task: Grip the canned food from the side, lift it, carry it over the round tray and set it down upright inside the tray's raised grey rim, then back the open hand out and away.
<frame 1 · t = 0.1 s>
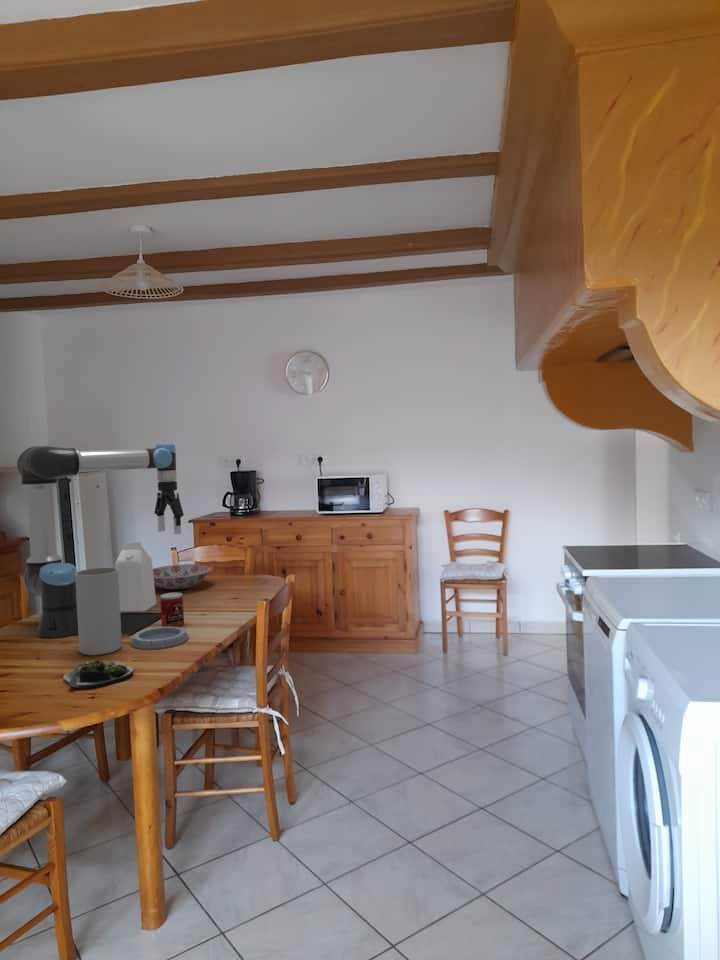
hand: (169, 532, 274), 28 cm above the table, tool pointing down, fingers open, 13 cm apart
canned food: (173, 626, 236), on the table
ceramic bowl: (178, 588, 298), on the table
cylinder vase: (101, 650, 210), on the table
round tray: (160, 641, 218), on the table
salad plate: (98, 680, 185), on the table
milk: (135, 608, 264), on the table
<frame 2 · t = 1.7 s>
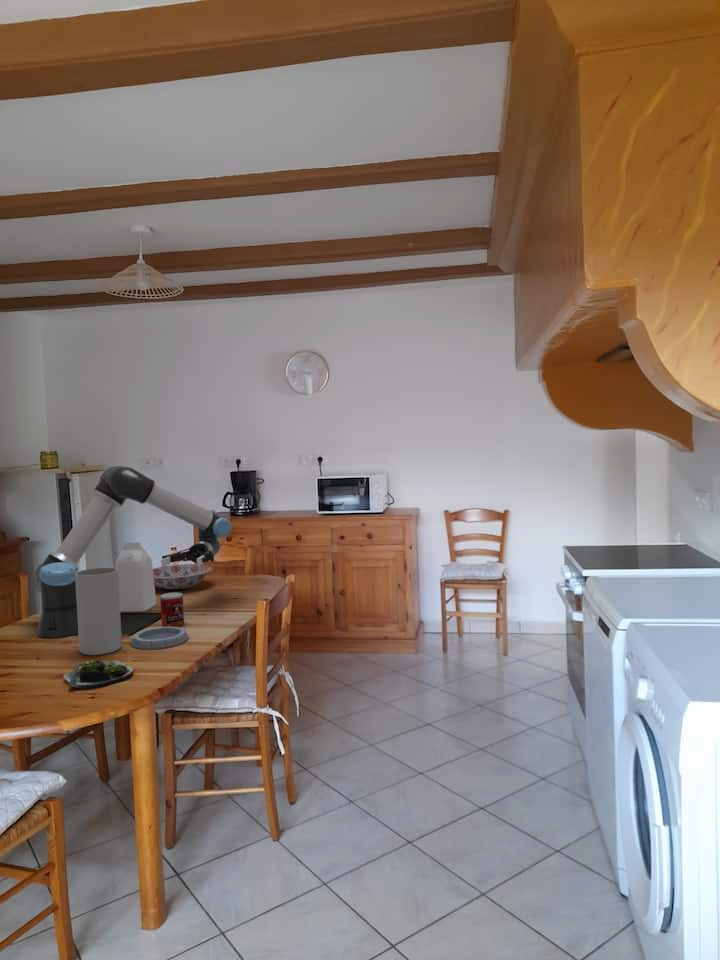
hand: (180, 562, 245), 20 cm above the table, tool horizontal, fingers open, 13 cm apart
nothing on the table moved.
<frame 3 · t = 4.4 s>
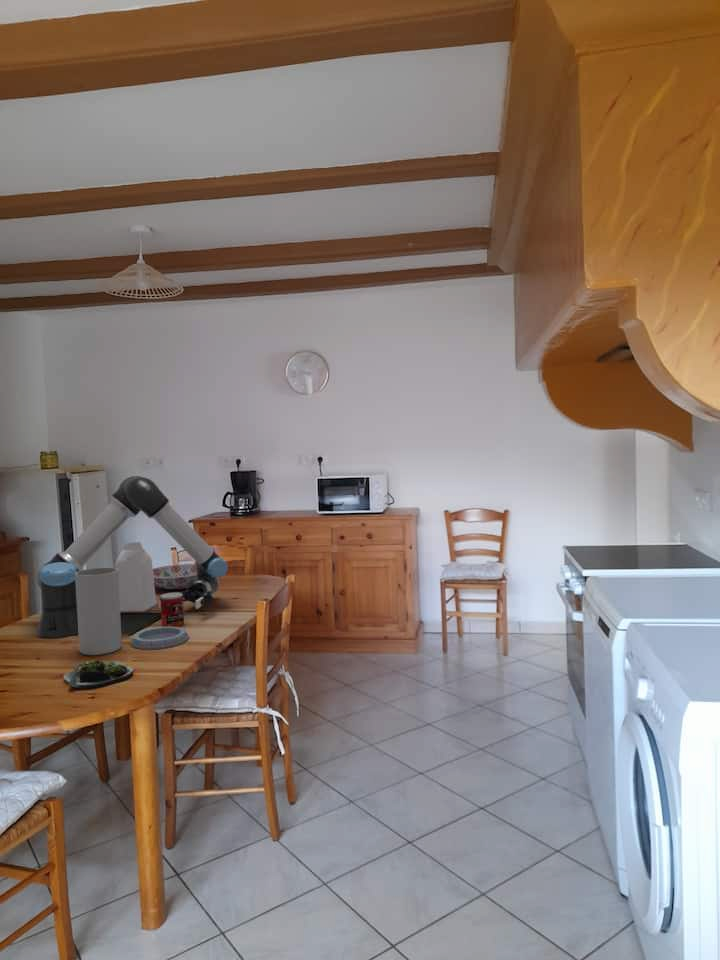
hand: (178, 605, 239), 6 cm above the table, tool horizontal, fingers open, 13 cm apart
nothing on the table moved.
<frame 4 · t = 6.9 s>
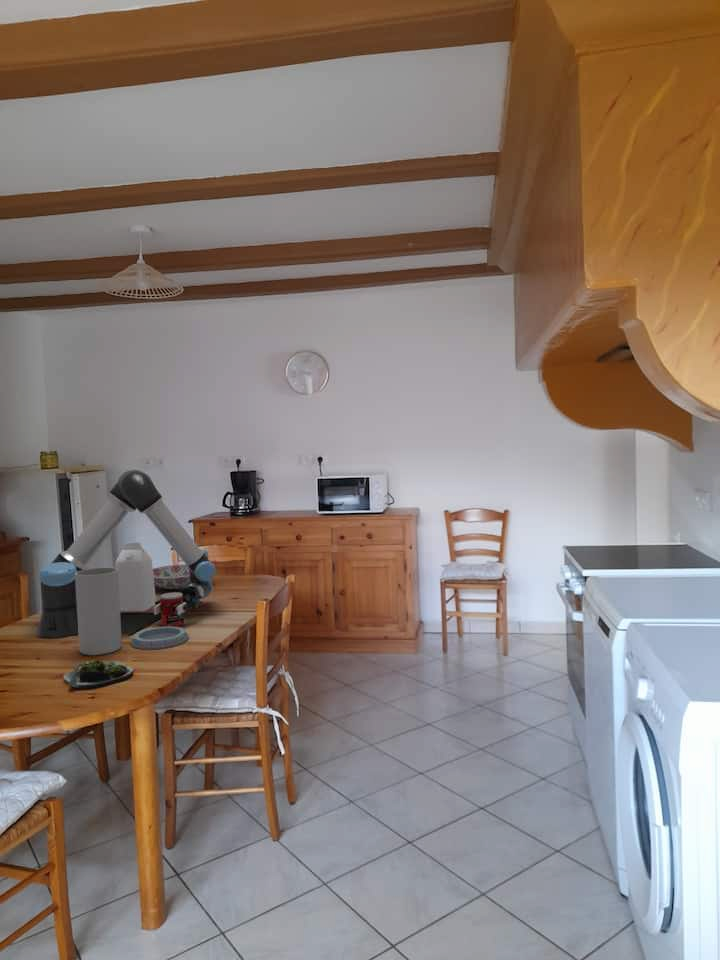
hand: (166, 610, 231), 7 cm above the table, tool horizontal, fingers closed on canned food, 8 cm apart
canned food: (173, 626, 236), on the table, touching gripper
everything else where it was.
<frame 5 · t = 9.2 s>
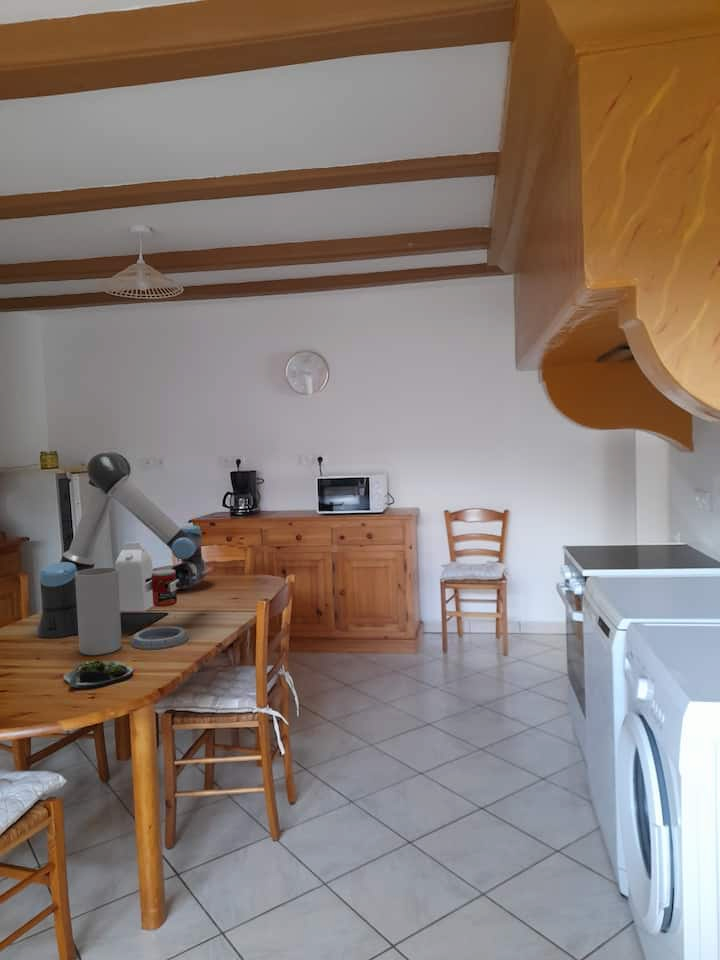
hand: (158, 587, 216), 18 cm above the table, tool horizontal, fingers closed on canned food, 8 cm apart
canned food: (165, 604, 221), point 11 cm above the table, touching gripper
everything else where it was.
when the fingers open (9 cm above the table, at t = 12.0 s): canned food drops 1 cm, resting on round tray.
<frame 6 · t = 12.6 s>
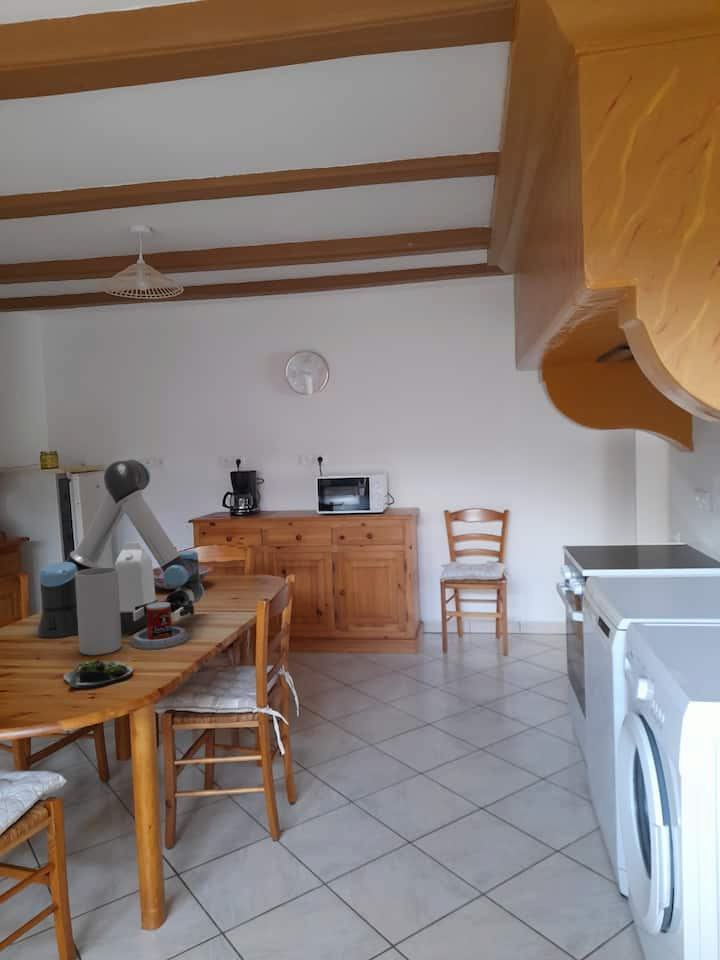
hand: (154, 616, 214), 9 cm above the table, tool horizontal, fingers open, 13 cm apart
canned food: (160, 638, 218), point 1 cm above the table, touching round tray
everything else where it was.
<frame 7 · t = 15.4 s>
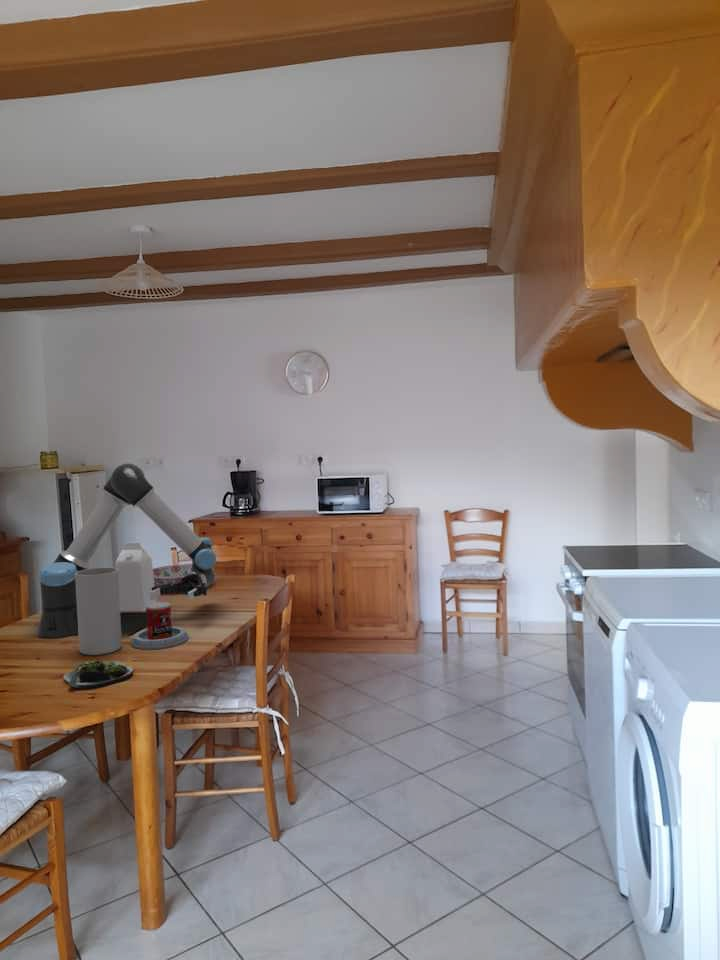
hand: (169, 596, 229), 12 cm above the table, tool horizontal, fingers open, 13 cm apart
nothing on the table moved.
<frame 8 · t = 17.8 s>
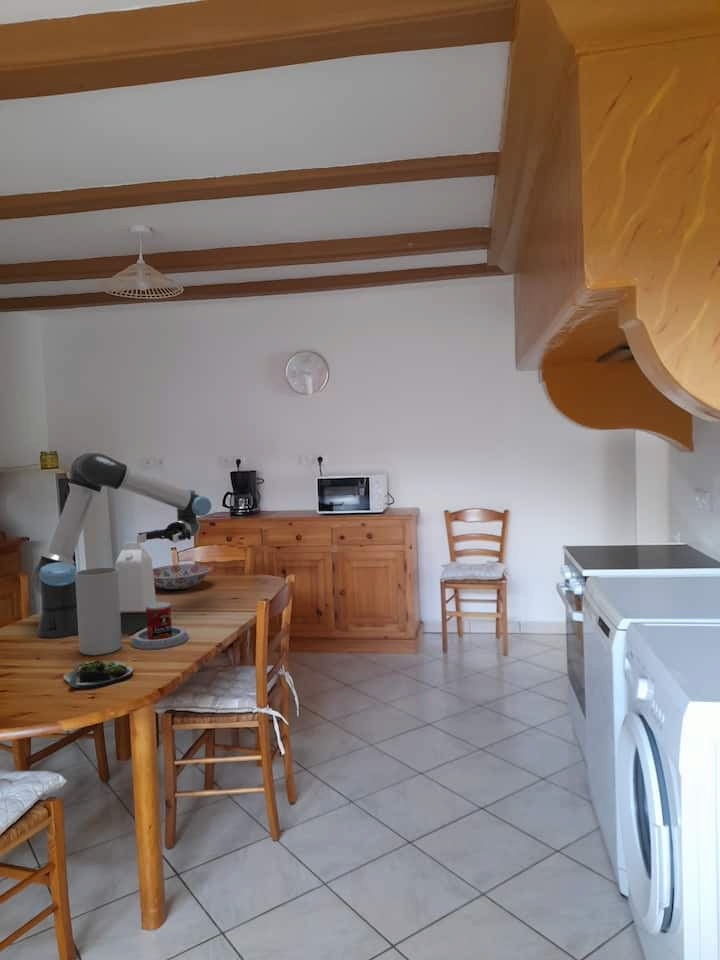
hand: (155, 539, 240), 30 cm above the table, tool horizontal, fingers open, 13 cm apart
nothing on the table moved.
at the end: canned food 0.0 cm off-centre on the round tray, point 0.8 cm above the round tray's base; canned food tilted 0°; the gripper is holding nothing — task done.
